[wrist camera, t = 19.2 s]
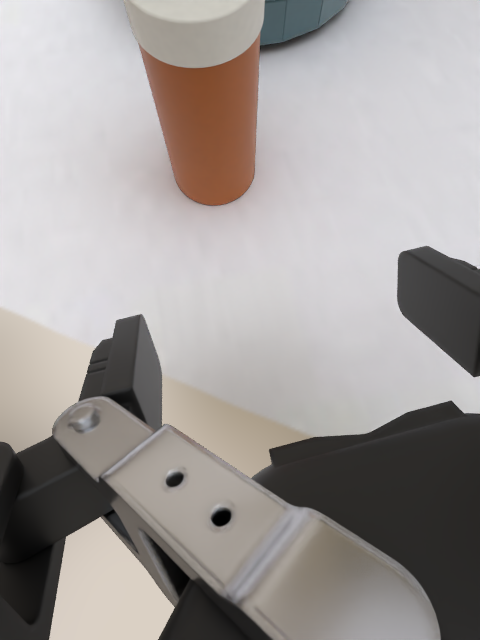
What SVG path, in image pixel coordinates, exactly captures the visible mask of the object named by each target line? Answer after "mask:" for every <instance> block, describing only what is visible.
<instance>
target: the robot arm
mask: <svg viewBox="0 0 480 640" xmlns="http://www.w3.org/2000/svg"><path fill="white" fill-rule="evenodd" d="M397 300H398V305H399V308H400V311H401V312H402V314H403V315H404V316H405V317H406V318H407V319H408V320H409V321H410V322H411V323H412V324H414V325H415V326H416V327H417V328H418V329H419V330H420V331H422V332H423V333H424V334H425V335H426V336H427V337H428V338H430V339H431V340H432V341H433V342H434V343H435V344H436V345H438V346H439V347H440V348H441V349H442V350H443V351H444V352H446V353H447V354H448V355H449V356H450V357H451V358H452V359H454V360H455V361H456V362H457V363H458V364H459V365H461V366H462V367H463V368H464V369H465V370H466V371H467V372H469V373H470V374H471V375H472V376H473V377H477V376H480V269H477V267H475V266H473V265H471V264H469V263H467V262H465V261H462V260H458V259H454V258H450V257H448V256H446V255H444V254H442V253H440V252H438V251H436V250H434V249H433V248H431V247H429V246H424V247H420V248H415V249H411V250H407V251H403V252H401V253H400V255H399V258H398V288H397ZM52 434H53V435H52V436H51V437H49V438H48V439H45V440H44V441H42V442H40V443H37V444H35V445H33V446H31V447H29V448H27V449H25V450H23V451H21V452H18V453H17V454H16V453H15V452H14V450H13V449H12V448H11V446H10V445H9V444H7V443H5V442H0V640H49V636H50V630H51V624H52V617H53V612H54V606H55V600H56V594H57V588H58V581H59V575H60V569H61V564H62V557H63V551H64V545H65V539H66V536H68V535H70V534H71V533H73V532H75V531H77V530H78V529H80V528H82V527H84V526H85V525H87V524H89V523H91V522H92V521H94V520H96V519H97V518H99V517H101V518H102V519H103V520H104V521H105V523H106V524H107V525H108V526H109V527H110V528H111V529H112V531H113V532H114V533H115V534H116V535H117V536H118V537H119V539H120V540H121V541H122V542H123V543H124V544H125V545H126V546H127V548H128V549H129V550H130V551H131V552H132V553H133V554H134V556H135V557H136V558H137V559H138V560H139V561H140V562H141V563H142V565H143V566H144V567H145V568H146V570H147V571H148V572H149V574H150V575H151V576H152V578H153V579H154V581H155V582H156V584H157V585H158V587H159V588H160V589H161V591H162V592H163V593H164V595H165V596H166V597H167V598H168V600H169V601H170V602H171V603H172V604H173V605H174V607H175V609H174V611H173V613H172V614H171V616H170V618H169V620H168V622H167V624H166V626H165V628H164V630H163V632H162V633H161V635H160V637H159V639H158V640H480V414H473V413H465V414H464V413H463V412H462V411H461V410H460V409H459V408H458V407H457V406H456V405H455V404H454V403H453V402H452V401H448V402H444V403H441V404H437V405H433V406H429V407H426V408H422V409H418V410H414V411H411V412H407V413H405V414H404V415H402V416H400V417H398V418H396V419H394V420H392V421H391V422H389V423H387V424H385V425H383V426H381V427H379V428H378V429H376V430H374V431H372V432H370V433H367V434H360V435H343V436H326V437H313V438H310V439H306V440H302V441H299V442H295V443H291V444H287V445H283V446H280V447H276V448H272V449H269V452H270V457H271V462H272V465H270V466H268V467H266V468H264V469H263V470H262V471H260V472H259V473H257V474H256V475H254V476H253V477H252V478H249V477H248V476H246V475H245V474H243V473H242V472H240V471H239V470H237V469H236V468H234V467H233V466H231V465H230V464H228V463H227V462H225V461H224V460H222V459H221V458H219V457H218V456H216V455H215V454H213V453H212V452H210V451H209V450H207V449H206V448H204V447H203V446H201V445H200V444H198V443H196V442H195V441H194V440H192V439H191V438H189V437H188V436H186V435H185V434H183V433H182V432H180V431H179V430H177V429H176V428H174V427H173V426H171V425H168V424H164V425H163V426H162V372H161V366H160V362H159V358H158V355H157V352H156V350H155V347H154V344H153V341H152V338H151V335H150V333H149V330H148V327H147V324H146V321H145V319H144V317H143V315H142V314H140V315H136V316H132V317H128V318H124V319H120V320H117V321H116V324H115V329H114V333H113V338H110V339H106V340H102V342H101V343H100V344H99V345H98V346H97V347H96V349H95V350H94V351H93V353H92V357H91V360H90V365H89V367H88V370H87V374H86V377H85V380H84V384H83V387H82V391H81V394H80V398H79V401H78V403H75V404H74V405H72V406H70V407H69V408H68V409H66V410H65V411H64V412H63V413H62V414H61V415H60V416H59V417H58V418H57V420H56V421H55V423H54V425H53V428H52Z"/></svg>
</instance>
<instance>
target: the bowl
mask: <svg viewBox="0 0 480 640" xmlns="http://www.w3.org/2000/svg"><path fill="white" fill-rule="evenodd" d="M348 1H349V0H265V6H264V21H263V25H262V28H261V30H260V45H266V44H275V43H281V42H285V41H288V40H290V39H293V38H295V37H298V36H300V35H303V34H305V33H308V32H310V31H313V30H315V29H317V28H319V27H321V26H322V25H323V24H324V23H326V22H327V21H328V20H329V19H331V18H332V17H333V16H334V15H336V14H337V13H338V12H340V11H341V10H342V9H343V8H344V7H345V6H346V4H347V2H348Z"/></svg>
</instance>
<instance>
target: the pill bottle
mask: <svg viewBox="0 0 480 640" xmlns="http://www.w3.org/2000/svg"><path fill="white" fill-rule="evenodd" d="M124 4H125V7H126V11H127V14H128V18H129V22H130V25H131V28H132V31H133V34H134V36H135V38H136V40H137V41H138V43H139V47H140V51H141V54H142V58H143V62H144V65H145V69H146V73H147V76H148V80H149V84H150V87H151V91H152V95H153V98H154V102H155V106H156V110H157V113H158V117H159V121H160V124H161V128H162V132H163V135H164V139H165V143H166V146H167V150H168V154H169V157H170V161H171V165H172V168H173V172H174V176H175V179H176V182H177V184H178V186H179V188H180V189H181V191H182V192H183V193H184V194H185V195H186V196H187V197H189V198H190V199H192V200H194V201H196V202H198V203H201V204H206V205H221V204H226V203H229V202H232V201H234V200H236V199H237V198H239V197H240V196H241V195H243V194H244V193H245V192H246V191H247V189H248V188H249V186H250V185H251V183H252V180H253V177H254V170H255V148H256V124H257V101H258V77H259V53H260V30H261V28H262V25H263V21H264V6H265V0H124Z"/></svg>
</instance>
